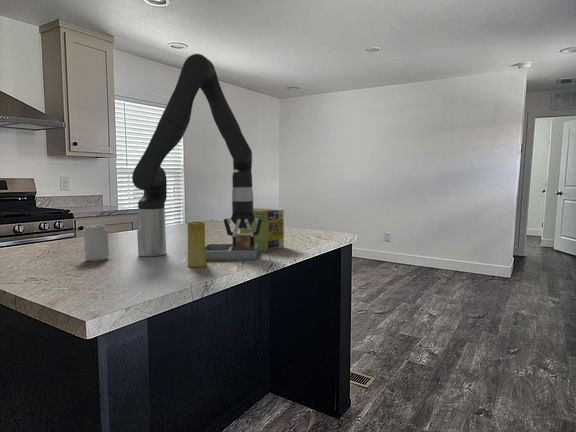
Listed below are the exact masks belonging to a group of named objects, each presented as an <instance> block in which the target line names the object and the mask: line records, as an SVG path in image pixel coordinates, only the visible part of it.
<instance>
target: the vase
mask: <svg viewBox="0 0 576 432" xmlns="http://www.w3.org/2000/svg"><path fill="white" fill-rule="evenodd" d="M205 226H206V225H205V221H203V220H191V221H188V222H187V267H190V268H202V267H205V266H207V262H208V261H206V250H205V245H206V235H205V234H206V231H205V230H206V227H205Z"/></svg>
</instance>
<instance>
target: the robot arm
mask: <svg viewBox="0 0 576 432" xmlns="http://www.w3.org/2000/svg"><path fill="white" fill-rule="evenodd" d="M200 89H201V92H203V93H202V94H204V96H205V98H206V101H207V102H208V105H209V108H210V112H211V115H212V119H213V121H214V122H215V125H216V127H217V129H218V131H219V133H220V135H221V137H222V139H224V142H225V145H226V147H227V150H228V151H229V154H230V157H231V158H232V162H233V163H232V167H233V170H232V171H233V172H232V176H231V177H232V180H231V182H232V190H231V208H232V211H231V213H232V215H231V217H229V218H224V219H223V222H224V227H225V230H226V231H225V232H226V234H227V235H228V236H230V237H232V244H233V246H234V245H235V247H236V234H238V230H240V228H248V231H249V233H250V247H252V245H254V236H255V235H258V234H259V231H260V226H261V222H262V219H261V218H256V217H255V216H254V214H253V209H254V192H253V190H254V189H253V175H252V166H253V165H252V164H253V152H252V149H251V147H250V145H249V143H248V142H247V140H246V138H245V136H244V135H243V133H242V130H241V127H240V125H239V123H238V120H237V118H236V117H235V114H234V113H233V110H232V109H231V107H230V105H229V102H228V101H227V99H226V97H225V94H224V92H223V89H222V87H221V84H220V81H219V78H218V75H217V71H216V69H215V66H214V64H213V62H212V61H211V59H208V58H207V57H206V56H205V55H204V54H200V53H192V54H190V55H189V56H188V57H187V58H186V59H185V61H184V62H183V65H182V68H181V71H180V74H179V76H178V79H177V82H176V85H175V88H174V90H173V92H172V94H171V96H170V98H169V99H168V102H167V104H166V107H165V108H164V110H163V111H162V114H161V117H160V119H159V121H158V123H157V126H156V128H155V131H154V133H153V134H152V137H151V139H150V141H149V143H148V145H147V147H146V149H145V151H144V152H143V154H142V156H141V157H140V159H139V161H138V162H137V164H136V166H135V168H134V170H133V172H132V176H131V178H132V184H133V186H134V187H135V188H136V189H138V190H141V191H143V195H142V197H141V198H140V199H139V200H138V202H137V211H138V212H137V213H138V229H137V230H136V232H137V233H136V236H137V254H138V255H137V256H138V257H139V256H142V257H159V256H163V255H166V254H167V235H166V234H167V233H166V213H165V212H166V209H165V204H166V201H167V189H168V187H167V185H168V184H167V182H168V181H167V175H166V171H165V170H164V168H163V167H162V166H161V165H162V163H163V161H164V160H165V158H166V157H167V155H168V154H169V153H170V152H171V151H172V150H174V148H175V147H176V146H177V145H178V144H179V143H180V142H181V140H182V138H183V137H184V135H185V132H186V130H187V128H188V127H189V124H190V121H191V116H192V110H193V105H194V100H195V98H196V95H197V93H198V91H199V90H200ZM254 220H255V221H256V224H257V228H256V231H255V232H253V229H252V226H251V224H252V223H253V221H254ZM231 222H232V223H233V224H234V225H235V227H234V229H233V231H232V230H231V226H230V224H232V223H231Z"/></svg>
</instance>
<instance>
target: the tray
mask: <svg viewBox="0 0 576 432" xmlns="http://www.w3.org/2000/svg"><path fill="white" fill-rule="evenodd" d="M205 250H206V262H209V261H210V262H212V261H214V262H216V261H256V260H257V257H258V253H259V250H258V243H254V245H252V247H251V248H250V249H238V250H236V247H235V245H234V246H233V243H205Z"/></svg>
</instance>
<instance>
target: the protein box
mask: <svg viewBox="0 0 576 432" xmlns="http://www.w3.org/2000/svg"><path fill="white" fill-rule="evenodd" d="M284 213H285V211H284V209H277V208H260V207H259V208H254V207H253V214H254V216H255V217H256V218H261V219H262V222H261V226H260V231H259V234H258V235H255V236H254V243H258V251H263V252H270V251H274V250H279V249H282V248H283V249H284V248H285V230H284V227H285V225H284V224H285V222H284V219H285V218H284ZM251 226H252V229H253V232H255V231H256V228H257V224H256V221H255V220H254V221H253V223H252V224H251ZM240 233H249V231H248V228H239V234H240Z"/></svg>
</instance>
